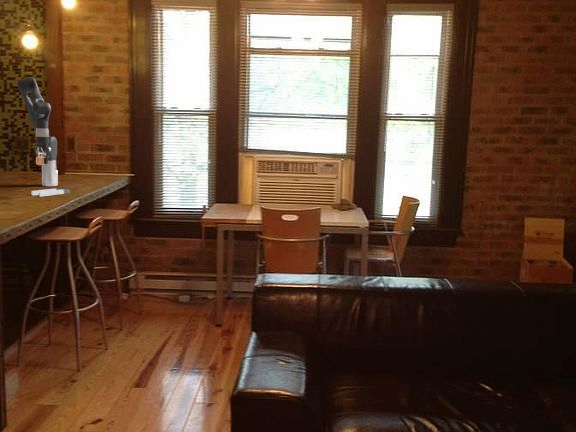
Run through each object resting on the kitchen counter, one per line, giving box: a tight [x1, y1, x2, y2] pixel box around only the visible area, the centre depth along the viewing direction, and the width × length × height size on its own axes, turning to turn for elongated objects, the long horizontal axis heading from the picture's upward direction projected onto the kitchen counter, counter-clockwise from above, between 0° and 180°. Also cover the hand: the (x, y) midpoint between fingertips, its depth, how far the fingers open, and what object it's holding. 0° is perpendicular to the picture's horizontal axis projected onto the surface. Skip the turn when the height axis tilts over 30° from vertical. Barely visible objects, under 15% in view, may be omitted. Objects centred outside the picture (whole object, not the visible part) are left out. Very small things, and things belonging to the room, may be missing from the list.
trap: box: [56, 188, 71, 195], centre depth 426 cm, size 5×8×2 cm, turn 59°
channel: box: [31, 187, 64, 198], centre depth 416 cm, size 18×8×2 cm, turn 149°
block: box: [35, 156, 47, 166], centre depth 409 cm, size 4×4×4 cm
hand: (43, 163), depth 410 cm, fingers closed on block, 4 cm apart
